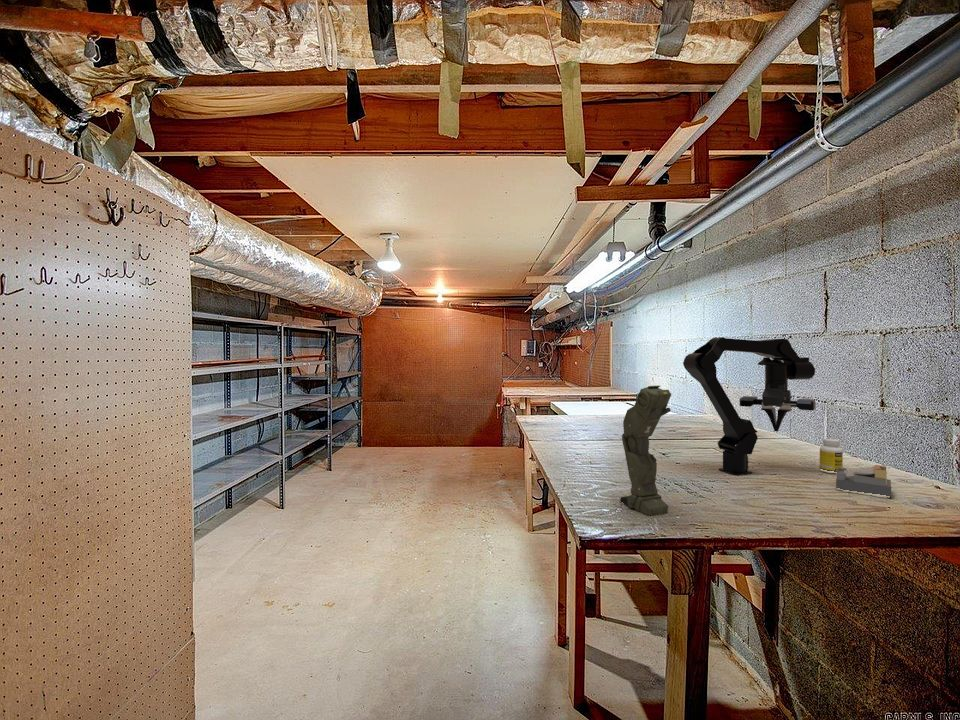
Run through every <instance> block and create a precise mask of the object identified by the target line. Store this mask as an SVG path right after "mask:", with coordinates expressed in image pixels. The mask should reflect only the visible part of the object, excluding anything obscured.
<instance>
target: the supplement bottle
mask: <svg viewBox="0 0 960 720" xmlns="http://www.w3.org/2000/svg"><path fill="white" fill-rule="evenodd" d="M822 444H823V445H821V446H820V447H819V470H820V469H823V470H827V471H834V472H838V468H844V467H843V459H844V458H843V456H844V453H843V452H844V451H843V449H842V447H840V445H841V441H840V440H839V439H835V438H822Z"/></svg>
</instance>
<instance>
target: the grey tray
mask: <svg viewBox="0 0 960 720" xmlns="http://www.w3.org/2000/svg"><path fill="white" fill-rule="evenodd" d="M874 466H880V467H881V470H876V469H875V474H866V475H854V476H848V477H846V473H841V472H839V471H840V470H848V468H845V467H843V468H838V472H837V474H836V478H835V489H836V488H840V489H843V490H849V491H857V492H864V493H872V494H880V495H886V496H891V497H892V482H891V479H887V478H888V477H887V476H888V475H887V474H888V473H887V472H888V471H887V465H881V464H879V465H878V464H875V465H874Z"/></svg>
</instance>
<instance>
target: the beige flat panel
mask: <svg viewBox="0 0 960 720" xmlns="http://www.w3.org/2000/svg"><path fill="white" fill-rule="evenodd" d="M880 466H881V465H880ZM880 466H875V465H874V466H865V467H859V468H857V467H856V468H851V469H850V468H849V469H848V468H847V470H840V471H839V472H841V473H846V477H848V476H854V475H866V474H875V469H876V470H881V467H880Z"/></svg>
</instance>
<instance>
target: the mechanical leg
mask: <svg viewBox="0 0 960 720" xmlns="http://www.w3.org/2000/svg"><path fill="white" fill-rule="evenodd" d="M660 387H661V385H648V386H647V387H643V388H640V390H639V392H638V394H637V396H636V400H635V403H634V406H633V405H632V407H630V408H628V409H627V410H626V412H625V416H624V418H623V422H622V424H623V433H622V435H621V441H622V446H623V450H624V455H625V460H626V466H627V471H628V478H629V480H630V484H631V488H630V495H627V496H626V495H625V496H621V497H620V499H619V502H620V501H621V502H623V503H624V504H623V503H622V504H623V505H625V504H626V505H628V506H627V507H628V508H630V509H634V508H635V509H634V510H635V511H637V512H640V513H643V514H645V515H647V516H649V517H650V515H651V516H656V514H657V515H661V514H668V511H669V505H668V504H667V503H666V502H665V501H664V500H663V499H662V496H661V495H660V494H659V491H658V487H657V484H656V478H657V470H658V469H657V468H658V467H657V464H658V463H657V458H656V457H655V456H654V455H653V454H651V453H650V452H649V449H650V440H649V437H651V436H652V435H653V434H654V432H655V430H656V427H657V425H658V424H659V422H660V420H661V417H663V416H664V415H666V414H669V412H671V411H672V410H671V408H670V407H668V404H669V402H670V399H671V397H672V393H671V391H670V390H669V389H662V388H660ZM621 502H620V503H621ZM626 505H625V506H626Z"/></svg>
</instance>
